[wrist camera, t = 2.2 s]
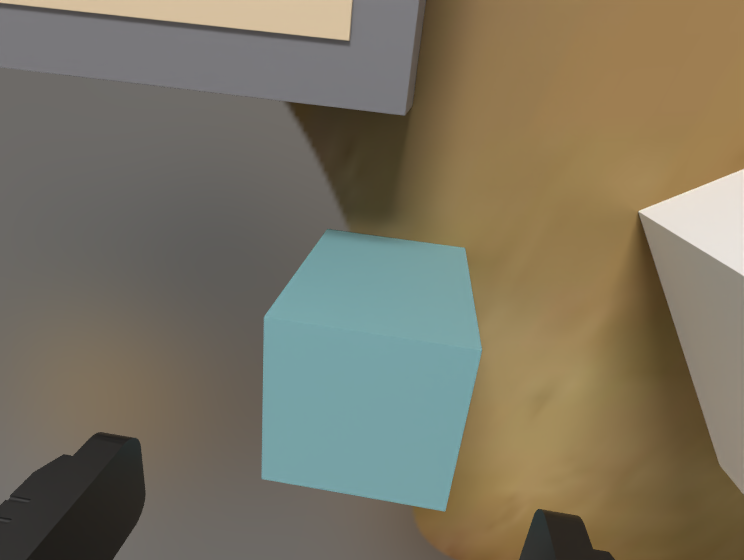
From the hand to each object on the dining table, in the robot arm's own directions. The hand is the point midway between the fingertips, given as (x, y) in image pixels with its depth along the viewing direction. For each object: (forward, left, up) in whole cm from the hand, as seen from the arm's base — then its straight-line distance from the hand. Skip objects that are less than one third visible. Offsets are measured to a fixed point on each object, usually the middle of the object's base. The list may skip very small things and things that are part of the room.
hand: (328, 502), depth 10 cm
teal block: (0, 0, -10) cm, 10 cm away
